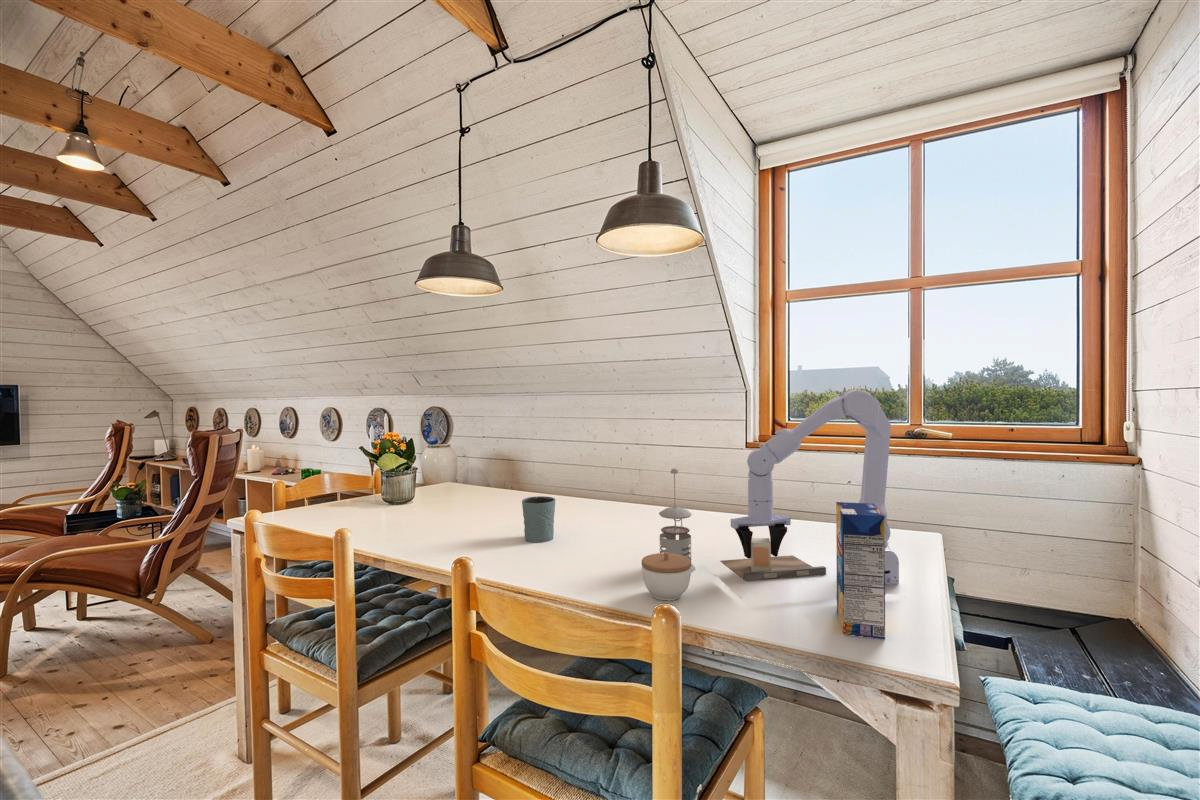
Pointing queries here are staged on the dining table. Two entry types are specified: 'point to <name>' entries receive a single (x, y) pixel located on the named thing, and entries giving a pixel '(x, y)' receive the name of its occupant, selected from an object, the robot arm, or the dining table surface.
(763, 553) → the carton
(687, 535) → the french press
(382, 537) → the dining table surface
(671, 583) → the lidded jar
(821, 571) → the shelf board
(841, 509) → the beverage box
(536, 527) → the teal textured cup
